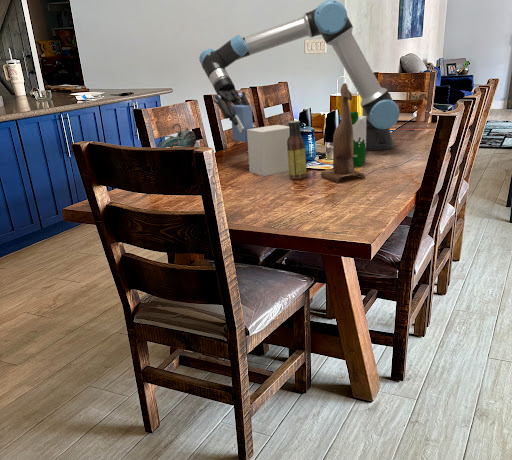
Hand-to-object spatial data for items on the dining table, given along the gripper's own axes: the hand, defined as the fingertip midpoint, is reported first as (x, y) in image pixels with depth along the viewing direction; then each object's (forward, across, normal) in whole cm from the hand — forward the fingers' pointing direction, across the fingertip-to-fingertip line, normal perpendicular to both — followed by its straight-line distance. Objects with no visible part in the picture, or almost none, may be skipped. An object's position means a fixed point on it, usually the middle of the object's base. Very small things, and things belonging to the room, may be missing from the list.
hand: (247, 129), depth 192 cm
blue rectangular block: (+1, 0, -6) cm, 6 cm away
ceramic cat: (+6, +27, -16) cm, 32 cm away
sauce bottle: (+28, -5, +5) cm, 29 cm away
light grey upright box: (+12, -6, -10) cm, 17 cm away
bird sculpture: (+36, -16, +13) cm, 42 cm away
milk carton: (+28, -32, +5) cm, 43 cm away
